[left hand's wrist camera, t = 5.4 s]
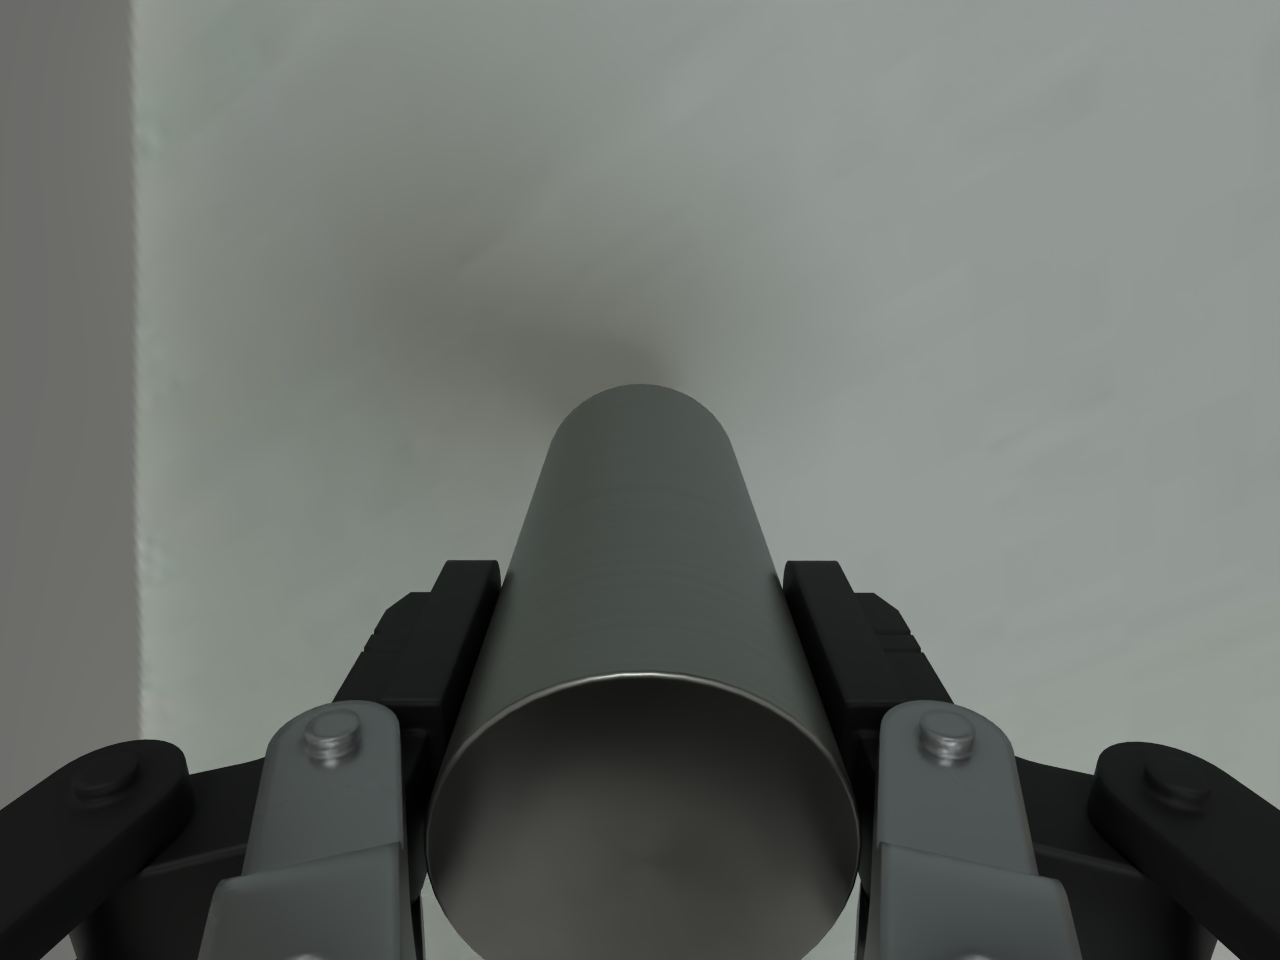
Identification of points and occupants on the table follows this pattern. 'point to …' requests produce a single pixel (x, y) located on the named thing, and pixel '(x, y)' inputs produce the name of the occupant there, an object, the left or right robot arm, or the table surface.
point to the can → (642, 719)
